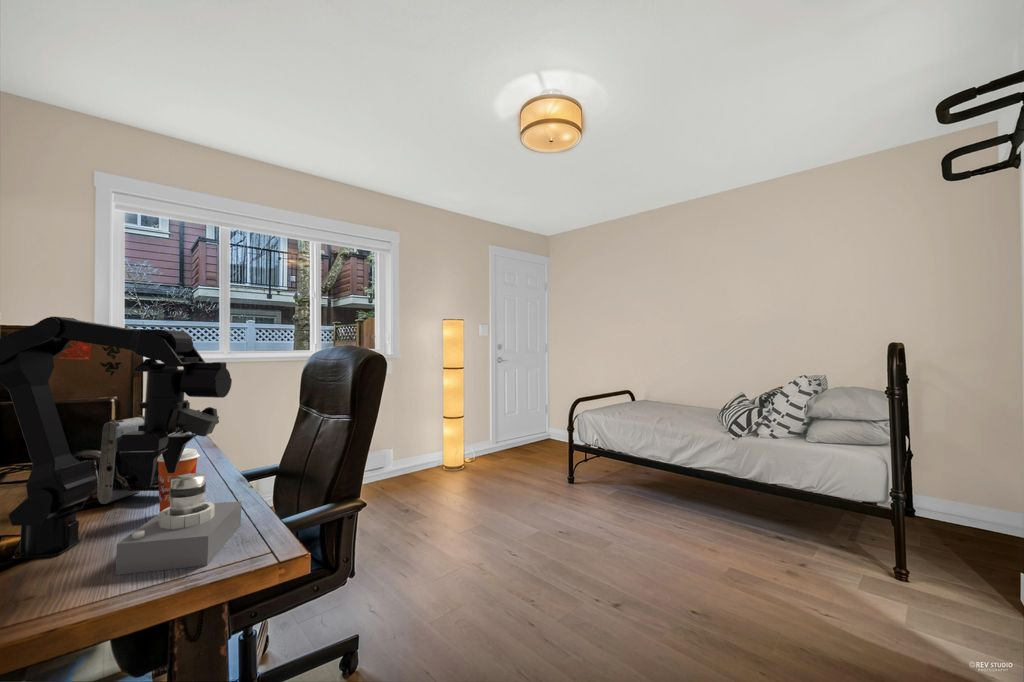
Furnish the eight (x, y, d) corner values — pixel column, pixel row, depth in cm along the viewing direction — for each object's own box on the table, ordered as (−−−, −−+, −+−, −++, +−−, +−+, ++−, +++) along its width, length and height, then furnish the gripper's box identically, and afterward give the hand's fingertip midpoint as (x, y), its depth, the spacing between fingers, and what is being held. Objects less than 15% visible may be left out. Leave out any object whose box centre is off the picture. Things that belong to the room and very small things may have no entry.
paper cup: (146, 522, 93) (149, 456, 93) (164, 509, 100) (166, 448, 100) (188, 519, 95) (191, 454, 95) (203, 507, 102) (205, 447, 102)
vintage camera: (158, 508, 102) (165, 423, 103) (93, 504, 102) (102, 419, 103) (189, 495, 112) (196, 417, 113) (130, 492, 112) (137, 414, 113)
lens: (163, 526, 78) (164, 482, 79) (176, 516, 84) (178, 474, 84) (197, 523, 80) (199, 480, 80) (209, 513, 85) (210, 472, 85)
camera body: (115, 574, 71) (117, 531, 71) (168, 531, 88) (169, 496, 89) (207, 565, 75) (208, 524, 75) (240, 525, 92) (241, 491, 92)
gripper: (194, 402, 75) (188, 493, 75) (230, 392, 93) (226, 465, 93) (116, 401, 72) (109, 496, 72) (169, 391, 90) (164, 467, 90)
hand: (159, 479), depth 82 cm, fingers open, 9 cm apart
